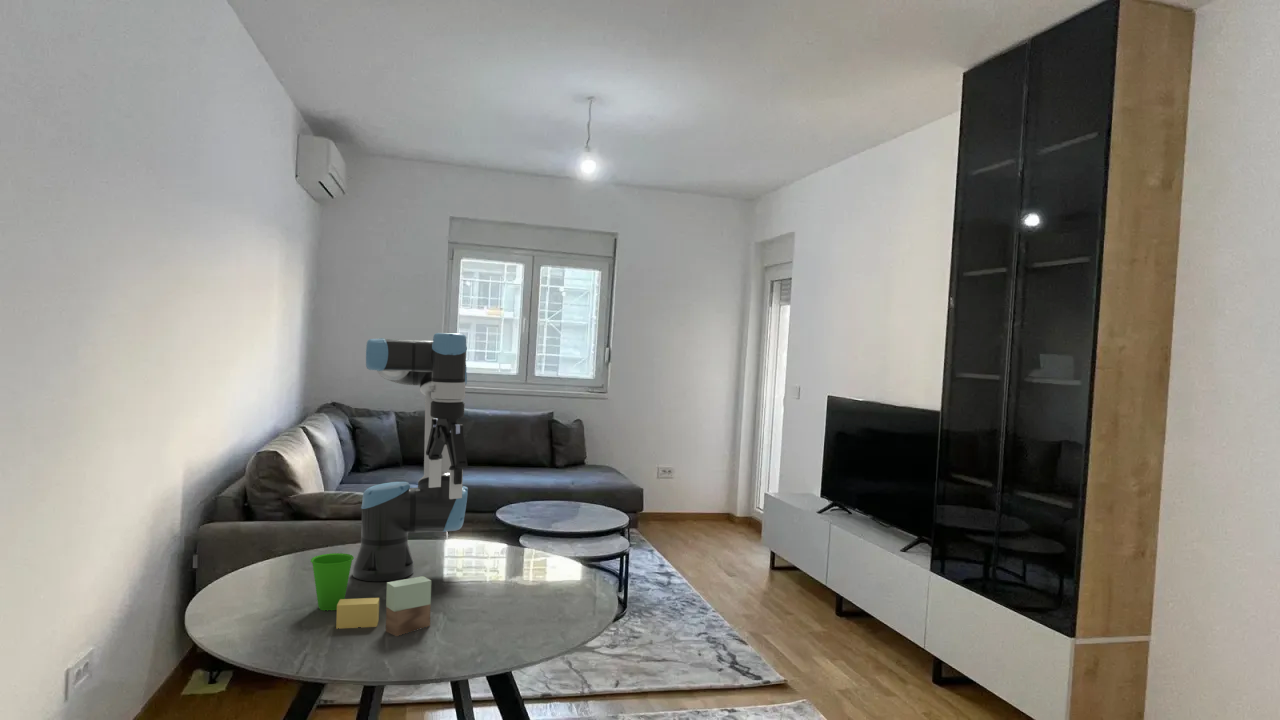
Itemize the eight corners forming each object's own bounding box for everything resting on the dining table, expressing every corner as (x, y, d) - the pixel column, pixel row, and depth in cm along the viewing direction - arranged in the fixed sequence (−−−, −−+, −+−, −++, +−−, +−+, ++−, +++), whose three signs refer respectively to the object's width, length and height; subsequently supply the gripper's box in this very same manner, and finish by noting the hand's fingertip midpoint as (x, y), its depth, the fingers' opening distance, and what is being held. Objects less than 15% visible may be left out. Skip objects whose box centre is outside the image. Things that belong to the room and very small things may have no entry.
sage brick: (394, 611, 154) (394, 587, 154) (386, 606, 157) (386, 582, 157) (430, 604, 159) (431, 580, 159) (422, 599, 162) (422, 576, 162)
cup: (360, 603, 173) (362, 555, 173) (332, 616, 164) (334, 565, 164) (329, 598, 176) (330, 551, 176) (299, 610, 167) (301, 560, 167)
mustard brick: (336, 629, 157) (336, 605, 157) (339, 622, 161) (339, 599, 161) (376, 627, 159) (377, 603, 159) (378, 620, 162) (379, 597, 162)
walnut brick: (396, 636, 154) (397, 612, 154) (385, 631, 156) (386, 607, 156) (429, 626, 160) (430, 603, 160) (418, 622, 162) (419, 598, 162)
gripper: (414, 395, 180) (411, 483, 181) (451, 405, 160) (448, 505, 160) (444, 395, 185) (441, 481, 185) (484, 405, 164) (481, 501, 165)
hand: (444, 492), depth 173 cm, fingers open, 13 cm apart
